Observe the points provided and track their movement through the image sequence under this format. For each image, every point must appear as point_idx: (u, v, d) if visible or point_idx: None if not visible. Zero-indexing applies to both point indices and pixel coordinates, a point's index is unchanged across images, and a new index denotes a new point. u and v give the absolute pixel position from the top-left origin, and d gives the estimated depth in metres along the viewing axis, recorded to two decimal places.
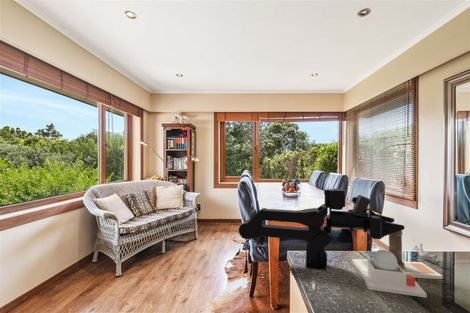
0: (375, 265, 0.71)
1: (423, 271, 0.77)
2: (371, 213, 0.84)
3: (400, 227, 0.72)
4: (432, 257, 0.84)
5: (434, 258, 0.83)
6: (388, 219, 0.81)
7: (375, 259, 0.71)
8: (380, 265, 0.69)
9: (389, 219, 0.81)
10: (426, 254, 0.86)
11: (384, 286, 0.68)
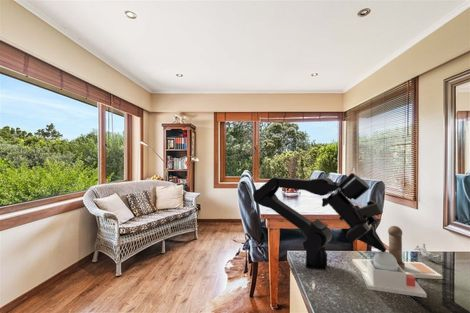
0: (375, 266, 0.71)
1: (423, 271, 0.77)
2: (371, 228, 0.74)
3: (381, 248, 0.71)
4: (436, 257, 0.83)
5: (438, 258, 0.83)
6: None
7: (375, 260, 0.71)
8: (380, 267, 0.69)
9: None
10: (430, 254, 0.86)
11: (384, 286, 0.68)
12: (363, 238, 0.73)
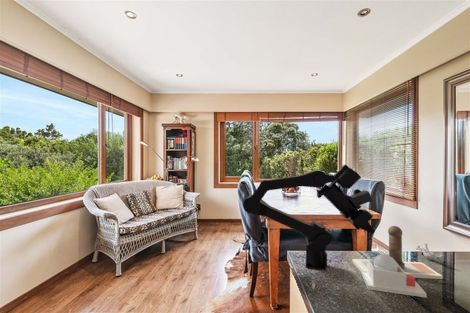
0: None
1: (423, 271, 0.77)
2: None
3: (372, 230, 0.80)
4: (440, 257, 0.83)
5: (442, 258, 0.83)
6: None
7: (375, 263, 0.71)
8: None
9: None
10: (433, 254, 0.86)
11: (384, 286, 0.68)
12: None
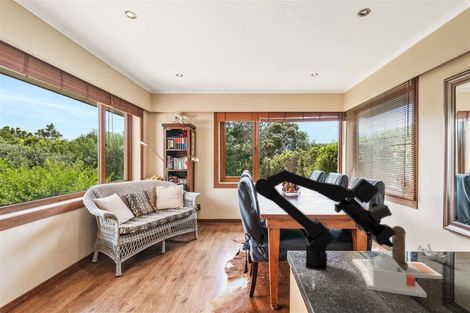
0: None
1: (423, 271, 0.77)
2: None
3: (390, 244, 0.80)
4: (443, 257, 0.83)
5: (445, 258, 0.83)
6: None
7: (375, 263, 0.71)
8: None
9: None
10: (436, 255, 0.86)
11: (384, 286, 0.68)
12: None
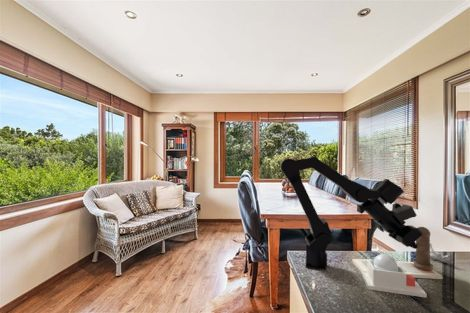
0: None
1: (423, 271, 0.77)
2: None
3: (415, 245, 0.79)
4: (446, 257, 0.83)
5: (448, 258, 0.83)
6: None
7: (375, 263, 0.71)
8: None
9: (413, 244, 0.80)
10: (438, 255, 0.86)
11: (384, 286, 0.68)
12: None
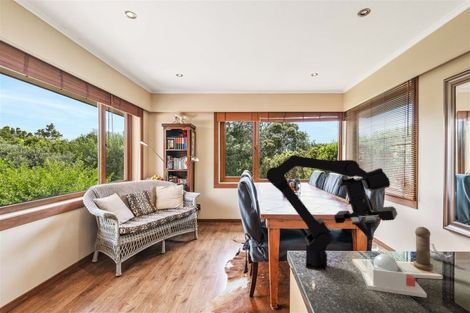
0: None
1: (423, 271, 0.77)
2: (364, 219, 0.84)
3: (372, 236, 0.81)
4: (450, 257, 0.83)
5: (451, 258, 0.83)
6: None
7: (375, 263, 0.71)
8: None
9: None
10: (441, 254, 0.86)
11: (384, 286, 0.68)
12: None
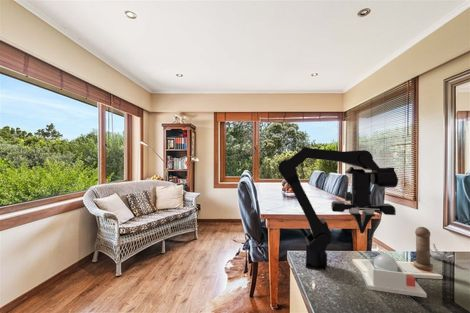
0: None
1: (423, 271, 0.77)
2: None
3: None
4: (451, 257, 0.83)
5: (453, 258, 0.83)
6: None
7: (375, 263, 0.71)
8: None
9: None
10: (443, 254, 0.86)
11: (384, 286, 0.68)
12: None
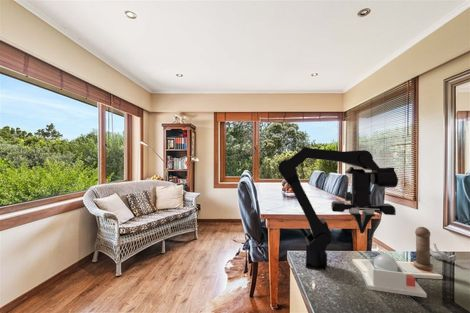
0: None
1: (423, 271, 0.77)
2: None
3: None
4: (452, 257, 0.83)
5: (454, 258, 0.83)
6: None
7: (375, 263, 0.71)
8: None
9: None
10: (444, 254, 0.86)
11: (384, 286, 0.68)
12: None
